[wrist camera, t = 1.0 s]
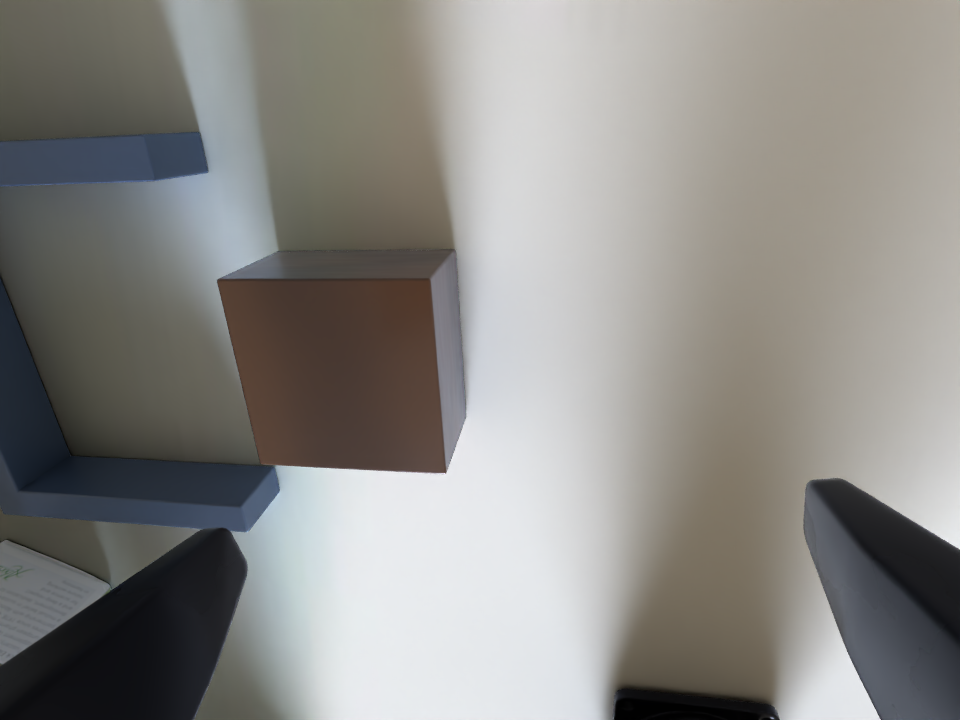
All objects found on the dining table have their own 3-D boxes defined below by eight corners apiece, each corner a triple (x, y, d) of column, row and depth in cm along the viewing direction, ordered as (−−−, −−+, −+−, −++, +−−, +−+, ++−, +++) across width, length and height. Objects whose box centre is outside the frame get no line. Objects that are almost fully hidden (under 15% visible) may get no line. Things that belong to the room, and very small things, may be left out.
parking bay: (199, 131, 17) (143, 134, 15) (280, 491, 22) (248, 533, 20) (-81, 145, 19) (-171, 149, 17) (56, 477, 24) (2, 514, 22)
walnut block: (456, 248, 17) (430, 278, 14) (466, 417, 20) (446, 475, 17) (277, 251, 18) (215, 279, 15) (307, 411, 21) (259, 465, 18)
